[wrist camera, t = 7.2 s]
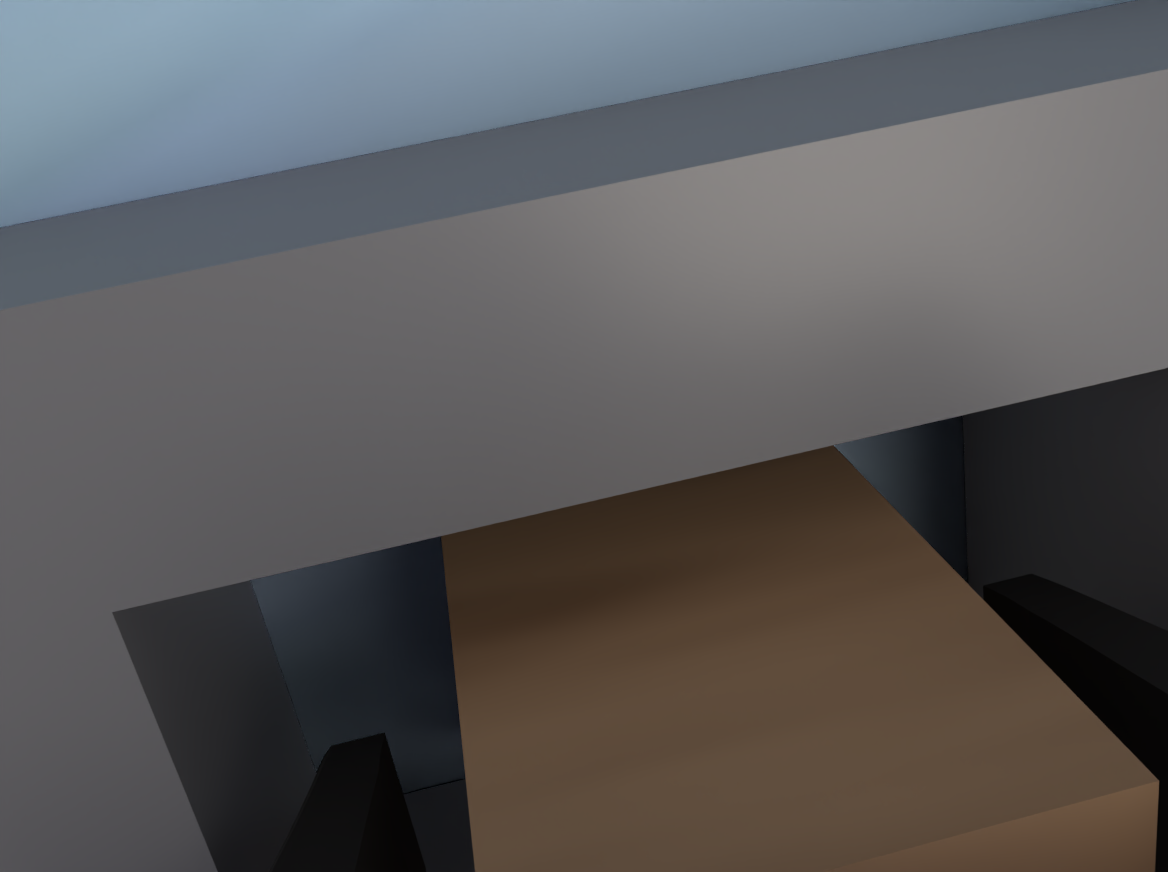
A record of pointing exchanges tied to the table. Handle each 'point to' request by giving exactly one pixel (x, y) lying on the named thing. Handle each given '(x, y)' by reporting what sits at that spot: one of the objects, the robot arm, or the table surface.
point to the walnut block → (766, 694)
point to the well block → (553, 383)
